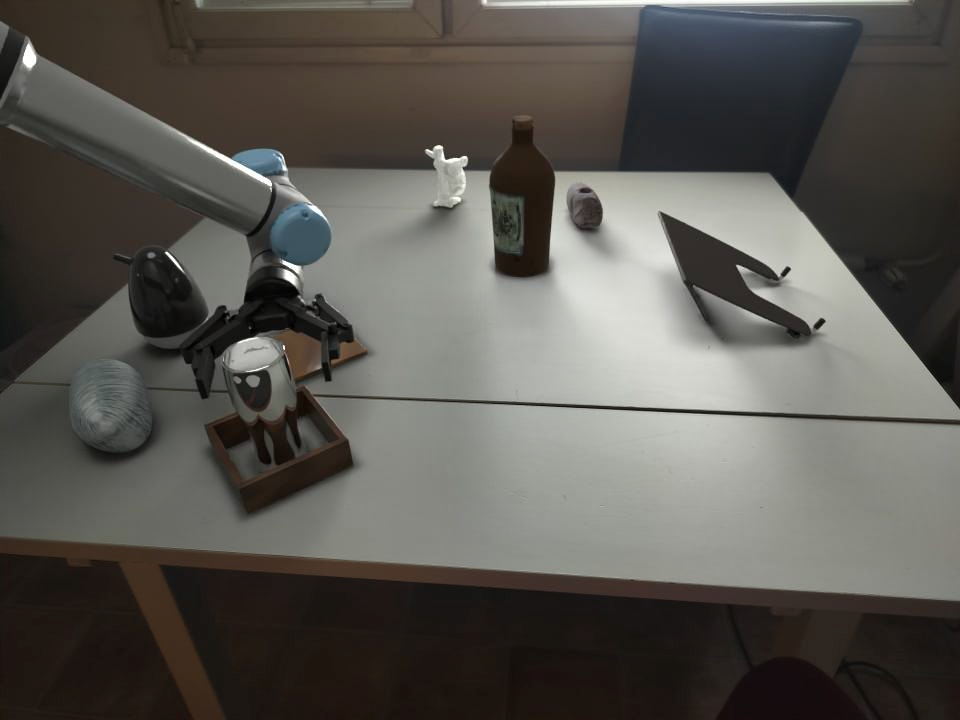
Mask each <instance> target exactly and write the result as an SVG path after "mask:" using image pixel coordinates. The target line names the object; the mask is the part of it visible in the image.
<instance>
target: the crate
mask: <svg viewBox="0 0 960 720" xmlns="http://www.w3.org/2000/svg"><path fill="white" fill-rule="evenodd" d="M296 395H297V420H298V419H300V418H302V417H305V416H307V417H308V418H309V419H310V421H311V422H312V423H313V425H314V426H315V427H316V429H317V430H318V431H319V432H320V434H321V435H322V436H323V438H324V440H325V441H326V442H327V443H326V444H324V445H322V446H319V447H317V448H315V449H312V450H310V451H308V453H306V454H303V455H301V456H299V457H297V458H294V459H292V460H290V461H288V462H285V463H283V464H281V465H279V466H277V467H274V468H272V469H270V470H268V471H265V472H263V473H262V472H260V473H258V474H256V475H254V476H252V477H249V478H247V479H245V480H244V479H243V478H242V476H241V473H240V472H239V471H238V469H237V467H236V465H235V463H234V462H233V460H232V458H231V457H230V454H229V453H228V451H227V449H228V448H231V447H233V446H236V445H238V444H241V443H243V442H245V441H247V440H251V438H250V436H249V434H248V432H247V430H246V429H245V427H244V425H243V424H242V422H241V420H240V418H239V417H238V415H237V413H236V411H235V412H233V413H231V414H228V415H226V416H224V417H220V418H218V419H215V420H213V421H210V422H208V423H205V424H204V425H203V427H204V430H205V433H206V435H207V438H208V441H209V445H210V446H211V450H212V452H213V453H214V455H215V458H216V459H217V461H218V463H219V464H220V467H221V469H222V470H223V473H224V474H225V476H226V477H227V479H228V481H229V483H230V485H231V487H232V489H233V491H234V493H235V494H236V497H237V498H238V499H239V502H240V503H241V505H242V507H243V510H244V511H245V513H246V515H250V514H252V513H254V512H256V511H259V510H261V509H263V508H265V507H267V506H269V505H271V504H273V503H275V502H278V501H280V500H282V499H284V498H287V497H288V496H290V495H292V494H295V493H297V492H299V491H301V490H303V489H306V488H308V487H310V486H312V485H314V484H316V483H319V482H320V481H323V480H325V479H327V478H328V477H331V476H333V475H335V474H337V473H339V472H342V471H343V470H346V469H348V468H351V467H353V466H354V460H353V455H352V450H351V444H350V440H349V438H348V437H347V436H346V434H345V433H344V432H343V430H341V428H340V427H339V426H338V425H337V424H336V422H335V421H334V419H333V418H332V417H331V416H330V415H329V413H328V412H327V411H326V409H325V408H324V407H323V406H322V405H321V403H319V401H318V400H317V399H316V397H315V396H314V395H313V393H311V391H310V390H309V388H308V387H307V386H306V385H305V384H304V385H301V386H299V387H296Z"/></svg>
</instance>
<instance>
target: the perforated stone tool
mask: <svg viewBox="0 0 960 720" xmlns="http://www.w3.org/2000/svg"><path fill="white" fill-rule="evenodd" d="M565 200H566V201H565V203H566V206H567V210H568V212H569V214H570V216H571V218H572V220H573V222H574V223H575V224H576V225H577V226H578V227H579V228H580V229H581V228H582V229H584V230H585V229H596V228H598V227H600V225H601V224H602V222H603V218H604V209H603V205H602V202H601V199H600V198H599V195H598V194H597V193H596V192H595V190H594V189H593V188H592V187H591V186H589V185H587V184H586V183H584V182H582V181H574V182H572V183H571V184H570V185H569V187H568V188H567V191H566V199H565Z"/></svg>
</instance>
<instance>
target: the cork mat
mask: <svg viewBox="0 0 960 720" xmlns="http://www.w3.org/2000/svg"><path fill="white" fill-rule="evenodd" d="M271 337H272V338H275V339H277V340H279V341H281V342H282V344H283V345H284V348H285V352H286V355H287V357H288V360H289V363H290V366H291V369H292V373H293V376H294V381H295V383H297V382H299V381H301V380H304V379H307V378H310V377H313V376H314V375H316V374H319V373H323V369H322V364H321V342H320V341H318V340H316V339H314V338H312V337H310V336H308V335H306V334H304V333H302V332H300V333H296V332H294V331H292V330H290V329H289V330H287V331H284V332H282V333H279V334H276V335H272V336H271ZM354 339H355V341H354V342H352V343H346V342H342V343H341V344H340V358H339V359H335V360H331V367H332V368H334V367H337V366H339V365H342V364H345V363H347V362H348V363H349V362H350V361H353V360H355V359H358V358H361V357H363V356H365V355H368V350H367V348H365V347H364V345H362V344H361V343H360V342H359V341H358V339H356V338H355V337H354Z"/></svg>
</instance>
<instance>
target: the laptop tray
mask: <svg viewBox="0 0 960 720" xmlns="http://www.w3.org/2000/svg"><path fill="white" fill-rule="evenodd" d="M657 216H658V220H659V222H660V225H661V228H662V230H663V232H664V235H665V238H666V240H667V243H668V245H669V248H670V250H671V254H672V257H673V259H674V261H675V265H676V268H677V269H678V272H679V275H680V278H681V280H682V284H683V285H684V286H685V287H686V289H687V290H688V292H689V294H690V296H691V297H692V299H693V301H694V302H695V305H696V307H697V308H698V310H699V312H700V314H701V316H702V317H703V320H704V322H705V323H706V322H708V319H707V317H706V315H705V313H704V310H703V308H702V307H701V304H700V301H699V300H698V297H697V293H696V289H695V287H696V288H698V289H699V290H702V291H704V292H707V293H708V294H710V295H712V296H714V297H717V298H718V299H720V300H723V301H725V302H727V303H730V304H731V305H734V306H736V307H738V308H741V309H743V310H745V311H747V312H749V313H751V314H753V315H754V316H755V315H756V316H758V317H759V318H763V319H764V320H767V321H769V322H772V323H773V324H776V325H778V326H781V327H783V328H785V333H786V334H787V335H788V336H789V337H791V338H792V339H793V340H795V339H796V340H798V339H800V338H801V337H802V335H803V336H805V337H810V336H812V335H814V334H815V333H817V331H819V330H820V329H821V328H822V326H824V324H825V323H827V322H826V321H827V320H826V319H825V318H823V317H819V319H818V320H816V322H814V324H813V326H809V324H808V323H807V322H806V321H805V320H804V319H802V318H801V317H800V316H798V315H796V314H795V313H794V314H793V313H792V312H790V311H788V310H786V309H784V308H783V307H781V306H779V305H778V304H775V303H773V302H771V301H769V300H768V299H766V298H764V297H762V296H760V295H758V294H757V293H755V292H754V291H752V290H751V289H750V287H749V286H748V285H747V283H746V282H745V279H744V278H743V275H742V274H741V272H740V270H739V268H738V266H739V267H742V268H744V269H746V270H749V271H750V272H752V273H755V274H757V275H759V276H760V277H763V278H765V279H767V280H769V281H772V282H775V283H777V282H781V281H783V280H784V279H785V278H786V277H787V275H788V274H789V273H790V272H791V271H792V268H791V267H790V266H789V265H787V266H785V267H784V268H783V270H782V271H781V272H780V274H779V275H778V274H777V273H776V272H775V271H774V269H772V268H771V267H770V266H768V265H767V264H766V263H764V262H762V261H761V260H759V259H757V258H755V257H753V256H751V255H750V254H748V253H745V252H744V251H742V250H740V249H737V248H736V247H734V246H732V245H730V244H728V243H726V242H724V241H722V240H720V239H718V238H717V237H714V236H712V235H710V234H708V233H706V232H704V231H702V230H700V229H698V228H696V227H694V226H692V225H691V224H688V223H686V222H684V221H682V220H680V219H677V218H676V217H673V216H671V215H669V214H667V213H665V212H663V211H661V210H659V211H658V212H657Z"/></svg>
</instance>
